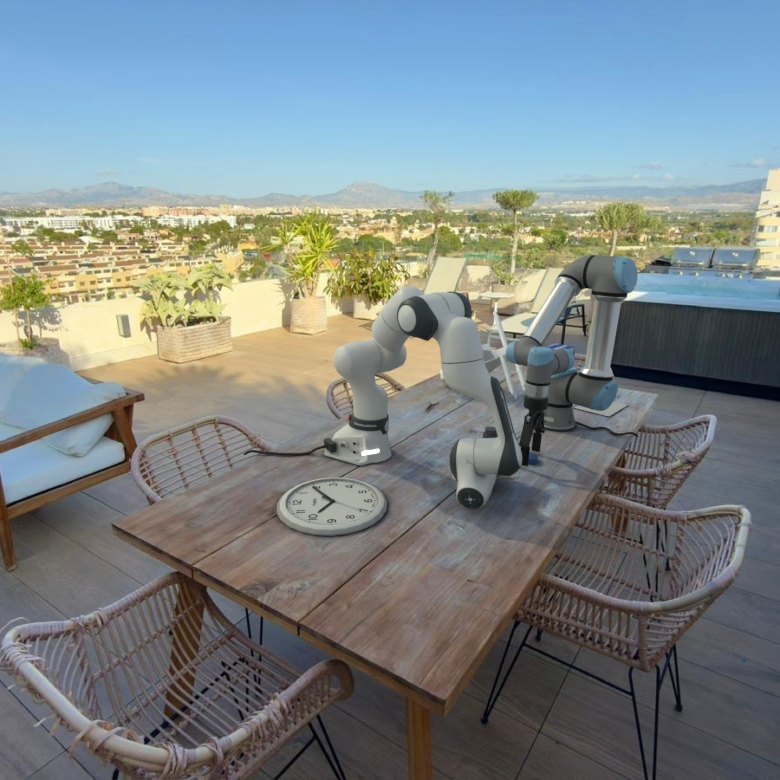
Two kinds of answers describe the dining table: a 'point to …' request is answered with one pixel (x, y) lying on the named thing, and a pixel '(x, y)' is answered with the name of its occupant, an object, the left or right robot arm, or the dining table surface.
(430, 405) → the fork
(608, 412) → the invitation card
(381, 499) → the wall clock
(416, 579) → the dining table surface
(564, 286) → the right robot arm
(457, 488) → the left robot arm
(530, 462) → the lid
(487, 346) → the white plastic object
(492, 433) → the dark grey cylinder
